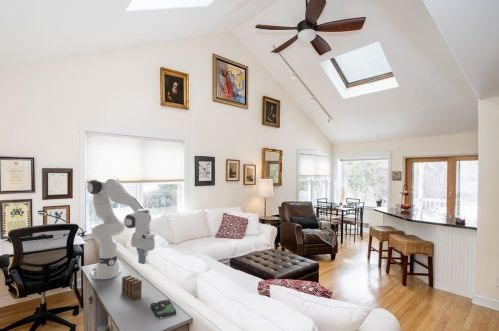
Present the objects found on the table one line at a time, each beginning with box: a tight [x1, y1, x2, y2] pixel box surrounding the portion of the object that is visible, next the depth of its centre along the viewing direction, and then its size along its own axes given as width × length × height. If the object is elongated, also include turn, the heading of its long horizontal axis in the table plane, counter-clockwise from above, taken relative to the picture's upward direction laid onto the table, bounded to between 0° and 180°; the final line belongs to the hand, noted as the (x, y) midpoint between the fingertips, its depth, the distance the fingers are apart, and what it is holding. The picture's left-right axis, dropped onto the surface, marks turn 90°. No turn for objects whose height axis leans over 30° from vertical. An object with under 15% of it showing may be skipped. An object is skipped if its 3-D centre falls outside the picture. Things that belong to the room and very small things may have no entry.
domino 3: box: [127, 277, 139, 299], centre depth 163 cm, size 2×5×10 cm, turn 139°
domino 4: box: [131, 279, 143, 301], centre depth 161 cm, size 2×5×10 cm, turn 140°
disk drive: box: [150, 299, 177, 319], centre depth 147 cm, size 10×3×15 cm
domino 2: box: [124, 276, 136, 297], centre depth 166 cm, size 2×5×10 cm, turn 139°
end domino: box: [137, 248, 147, 265], centre depth 176 cm, size 2×5×10 cm, turn 57°
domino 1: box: [121, 274, 132, 295], centre depth 169 cm, size 2×5×10 cm, turn 140°
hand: (142, 255), depth 175 cm, fingers closed on end domino, 5 cm apart
